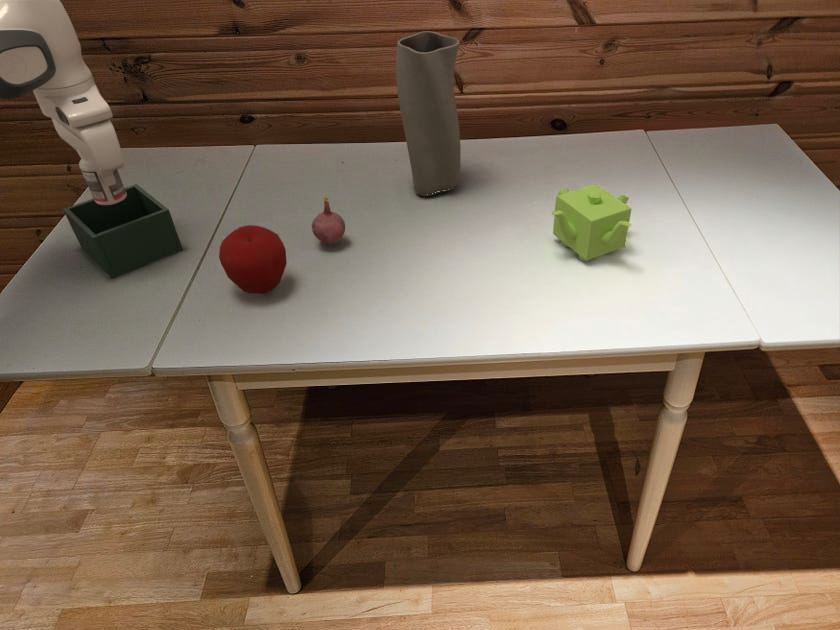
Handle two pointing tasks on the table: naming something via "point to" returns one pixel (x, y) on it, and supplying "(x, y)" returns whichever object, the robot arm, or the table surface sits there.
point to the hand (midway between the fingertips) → (102, 177)
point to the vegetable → (328, 225)
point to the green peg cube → (591, 221)
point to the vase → (429, 109)
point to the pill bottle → (101, 184)
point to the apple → (253, 259)
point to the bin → (124, 231)
